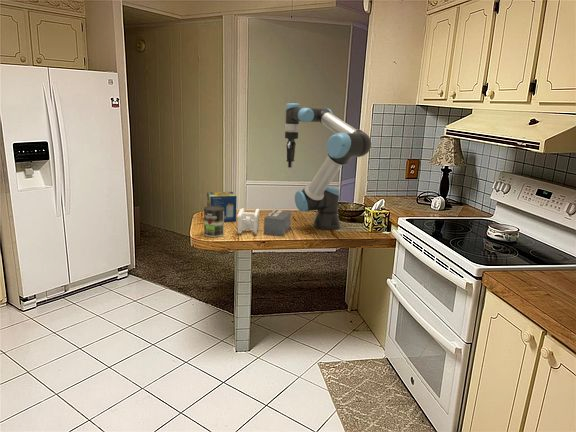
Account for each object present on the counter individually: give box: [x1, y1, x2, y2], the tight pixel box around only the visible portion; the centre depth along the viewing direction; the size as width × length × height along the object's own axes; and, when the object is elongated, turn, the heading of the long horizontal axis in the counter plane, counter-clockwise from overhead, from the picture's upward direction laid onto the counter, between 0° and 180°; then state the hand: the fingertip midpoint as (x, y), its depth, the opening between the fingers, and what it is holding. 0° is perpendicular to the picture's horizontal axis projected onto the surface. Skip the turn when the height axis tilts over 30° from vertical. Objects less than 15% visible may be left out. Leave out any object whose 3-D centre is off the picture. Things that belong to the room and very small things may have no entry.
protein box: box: [206, 191, 238, 223], centre depth 254 cm, size 10×15×16 cm
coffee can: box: [203, 205, 225, 238], centre depth 227 cm, size 10×10×14 cm
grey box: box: [263, 209, 292, 237], centre depth 239 cm, size 10×18×10 cm, turn 166°
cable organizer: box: [236, 207, 260, 235], centre depth 235 cm, size 15×11×12 cm
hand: (289, 172), depth 255 cm, fingers closed
